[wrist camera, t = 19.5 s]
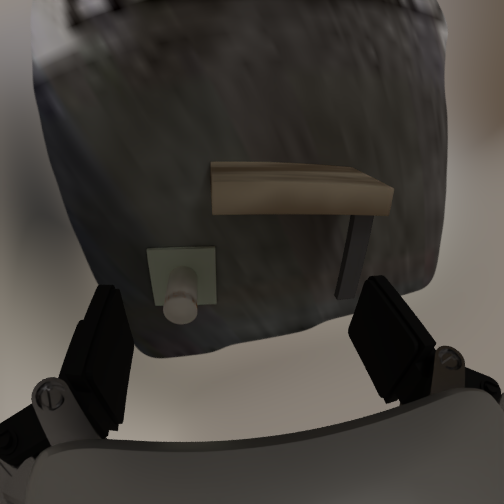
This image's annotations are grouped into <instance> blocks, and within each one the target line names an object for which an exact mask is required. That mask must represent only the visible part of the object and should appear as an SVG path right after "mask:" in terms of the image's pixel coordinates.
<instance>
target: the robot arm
mask: <svg viewBox="0 0 504 504" xmlns="http://www.w3.org/2000/svg"><path fill="white" fill-rule="evenodd" d="M348 334H349V337H350V339H351V341H352V343H353V345H354V347H355V348H356V350H357V352H358V354H359V356H360V358H361V360H362V362H363V364H364V366H365V368H366V370H367V372H368V374H369V376H370V378H371V380H372V382H373V384H374V386H375V388H376V390H377V392H378V394H379V396H380V397H381V398H384V400H385V403H386V404H387V403H391V402H394V401H397V400H398V399H399V401H400V406H398V407H395V408H392V409H389V410H386V411H383V412H380V413H376V414H373V415H370V416H366V417H363V418H359V419H355V420H351V421H347V422H344V423H340V424H335V425H331V426H326V427H322V428H317V429H312V430H307V431H301V432H296V433H289V434H283V435H276V436H268V437H260V438H251V439H242V440H228V441H210V442H149V441H133V440H112V439H107V438H106V437H107V436H108V432H109V430H113V431H118V426H119V424H122V423H123V420H124V412H125V403H126V395H127V388H128V381H129V375H130V369H131V363H132V356H133V351H134V341H133V337H132V334H131V330H130V327H129V324H128V320H127V316H126V313H125V309H124V305H123V301H122V297H121V293H120V290H119V289H115V287H114V285H98V287H97V289H96V291H95V293H94V296H93V298H92V300H91V303H90V305H89V308H88V310H87V313H86V315H85V317H84V320H80V321H79V323H78V325H77V327H76V329H75V332H74V334H73V337H72V340H71V342H70V345H69V348H68V351H67V353H66V356H65V359H64V362H63V365H62V368H61V371H60V374H59V377H58V378H55V377H50V378H46V379H43V380H42V381H40V382H39V383H38V384H37V385H36V386H35V388H34V390H33V392H32V398H31V400H32V404H30V405H29V406H27V407H26V408H24V409H23V410H21V411H19V412H18V413H16V414H15V415H13V416H11V417H10V418H8V419H7V420H5V421H3V422H2V423H0V504H504V393H502V395H501V389H500V387H499V385H498V383H497V382H496V381H495V380H494V379H492V378H491V377H489V376H486V375H484V374H481V373H479V372H476V371H474V370H471V369H469V368H466V367H465V361H464V358H463V356H462V355H461V353H460V352H459V351H457V350H456V349H455V348H453V347H450V346H441V347H439V348H438V349H437V350H435V348H434V346H435V345H436V342H435V340H434V339H433V338H432V336H431V335H430V334H429V332H428V331H427V330H426V328H425V327H424V325H423V324H422V323H421V322H420V320H419V319H418V318H417V316H416V315H415V314H414V312H413V311H412V310H411V309H410V307H409V306H408V305H407V303H406V302H405V301H404V300H403V298H402V297H401V296H400V295H399V293H398V292H397V291H396V290H395V288H394V287H393V286H392V285H391V284H390V282H389V281H388V280H387V279H386V278H385V277H384V276H382V275H379V276H370V277H369V278H368V280H366V281H365V283H364V285H363V288H362V291H361V294H360V297H359V300H358V303H357V306H356V309H355V312H354V315H353V317H352V320H351V323H350V326H349V329H348Z"/></svg>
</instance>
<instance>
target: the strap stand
mask: <svg viewBox="0 0 504 504" xmlns="http://www.w3.org/2000/svg"><path fill="white" fill-rule="evenodd" d="M393 192H394V188H392V187H390V186H388V185H386V184H384V183H382V182H380V181H378V180H376V179H374V178H372V177H370V176H368V175H366V174H364V173H362V172H360V171H358V170H356V169H354V168H352V167H343V166H332V165H318V164H302V163H281V162H211V202H212V215H243V214H331V215H375V216H389V213H390V208H391V203H392V198H393Z"/></svg>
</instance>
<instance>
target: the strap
mask: <svg viewBox="0 0 504 504" xmlns="http://www.w3.org/2000/svg"><path fill="white" fill-rule="evenodd" d="M373 218H374V215H351V216H350V222H349V227H348V233H347V238H346V243H345V248H344V253H343V258H342V263H341V268H340V272H339V277H338V281H337V286H336V290H335V294H334V296H335V297H336V299H337V300H341V299H351V298H354V297H355V293H356V290H357V286H358V282H359V279H360V275H361V271H362V267H363V263H364V259H365V255H366V250H367V246H368V242H369V237H370V233H371V228H372V223H373Z"/></svg>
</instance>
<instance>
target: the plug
mask: <svg viewBox="0 0 504 504" xmlns="http://www.w3.org/2000/svg"><path fill="white" fill-rule="evenodd" d="M197 285H198V278H197V274H196V273H195V271H194V270H193V269H191V268H189V267H186V266H179V267H176V268H174V269H173V270H171V272H170V273H169V277H168V283H167V289H166V295H165V301H164V307H163V312H164V315H165V317H166V318H167V319H168V320H169V321H171V322H173V323H176V324H187V323H190V322H192V321H193V320H194V319H195V318H196V316H197Z"/></svg>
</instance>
